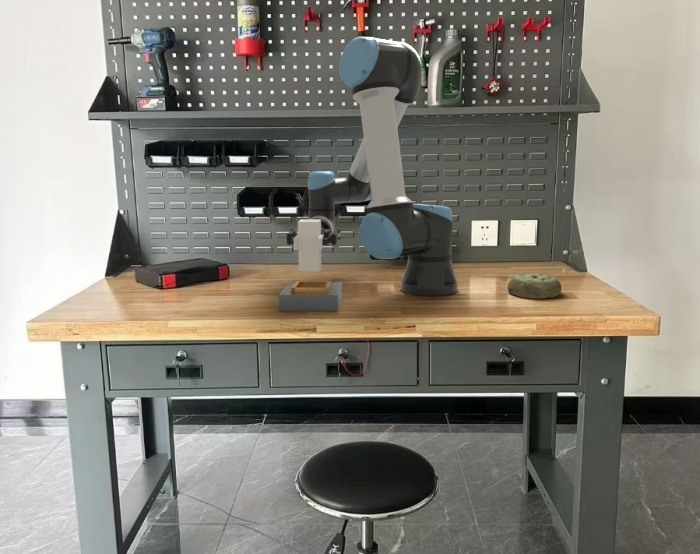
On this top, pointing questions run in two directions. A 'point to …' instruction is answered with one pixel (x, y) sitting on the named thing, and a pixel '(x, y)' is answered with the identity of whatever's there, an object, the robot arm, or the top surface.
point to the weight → (534, 286)
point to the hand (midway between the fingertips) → (307, 244)
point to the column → (309, 244)
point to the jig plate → (311, 296)
